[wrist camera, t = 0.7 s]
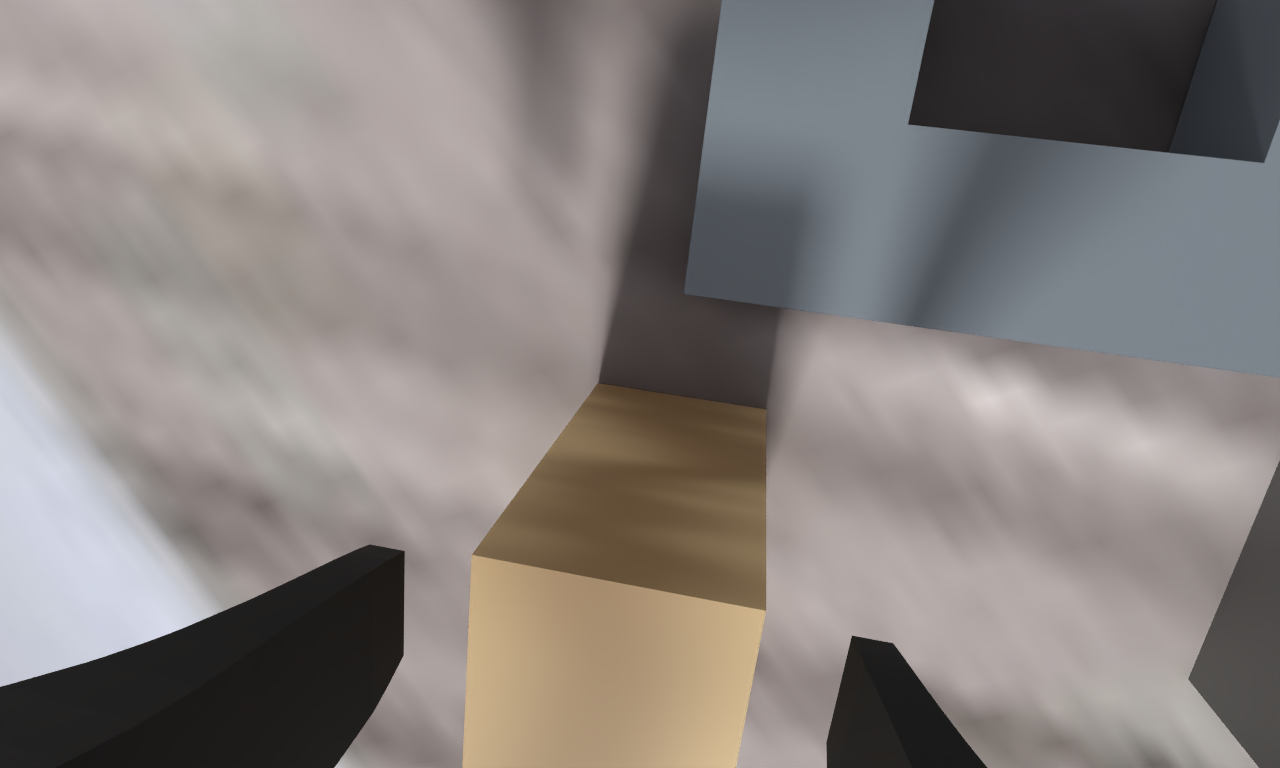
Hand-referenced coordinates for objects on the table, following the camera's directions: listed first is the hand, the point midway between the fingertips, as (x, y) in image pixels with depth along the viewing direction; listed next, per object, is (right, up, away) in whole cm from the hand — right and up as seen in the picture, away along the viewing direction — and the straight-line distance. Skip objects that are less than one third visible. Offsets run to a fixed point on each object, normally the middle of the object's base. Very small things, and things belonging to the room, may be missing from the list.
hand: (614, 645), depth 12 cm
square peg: (+1, +2, +6) cm, 7 cm away
